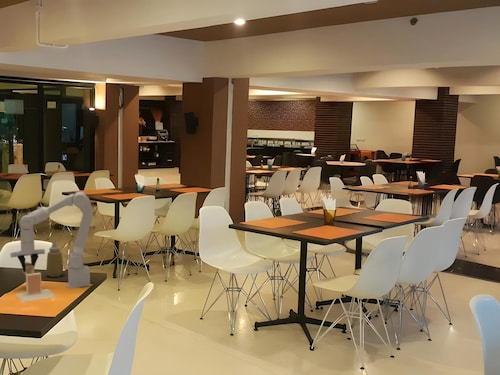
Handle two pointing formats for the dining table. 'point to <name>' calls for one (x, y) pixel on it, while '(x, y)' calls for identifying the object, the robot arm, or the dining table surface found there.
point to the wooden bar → (28, 268)
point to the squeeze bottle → (54, 261)
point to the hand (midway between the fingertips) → (28, 271)
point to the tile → (33, 283)
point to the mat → (35, 296)
